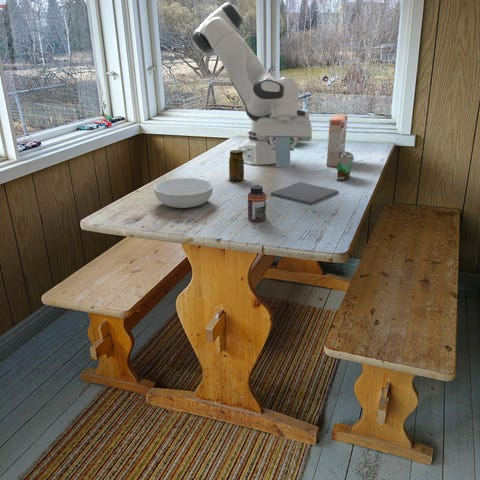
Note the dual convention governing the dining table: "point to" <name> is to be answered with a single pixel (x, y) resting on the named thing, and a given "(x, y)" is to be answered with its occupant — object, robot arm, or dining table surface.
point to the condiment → (236, 167)
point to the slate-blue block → (282, 151)
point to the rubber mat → (304, 193)
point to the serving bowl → (183, 192)
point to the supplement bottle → (256, 204)
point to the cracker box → (336, 139)
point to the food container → (344, 165)
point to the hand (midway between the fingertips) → (282, 149)
